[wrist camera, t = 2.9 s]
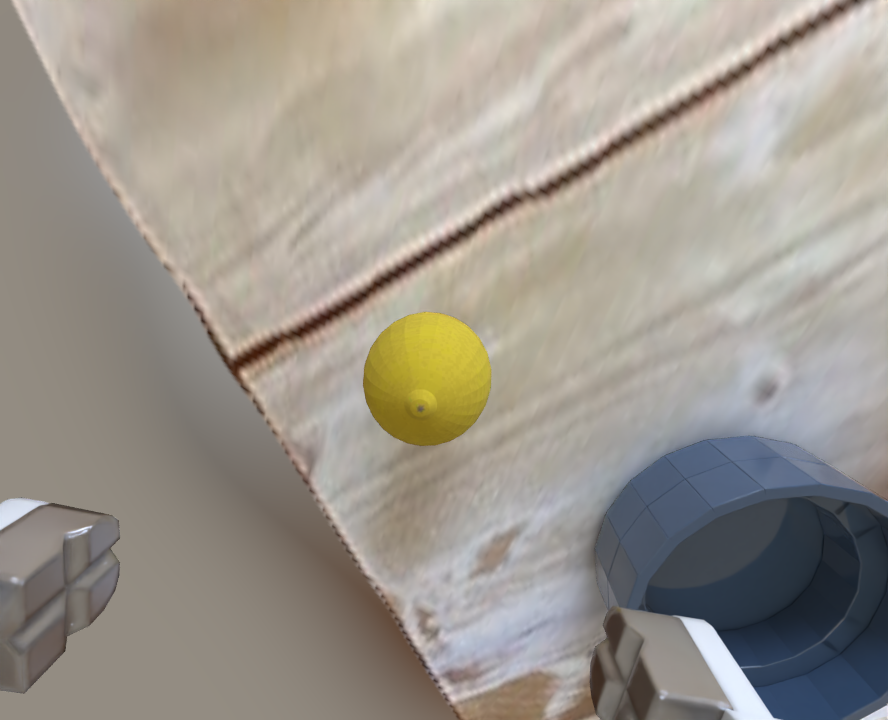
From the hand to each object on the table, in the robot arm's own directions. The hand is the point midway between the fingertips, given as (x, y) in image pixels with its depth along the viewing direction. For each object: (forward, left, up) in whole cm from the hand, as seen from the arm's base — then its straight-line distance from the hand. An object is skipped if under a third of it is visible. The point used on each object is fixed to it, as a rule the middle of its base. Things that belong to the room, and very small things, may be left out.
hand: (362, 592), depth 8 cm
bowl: (-18, +8, -17) cm, 26 cm away
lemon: (0, 0, -17) cm, 17 cm away
